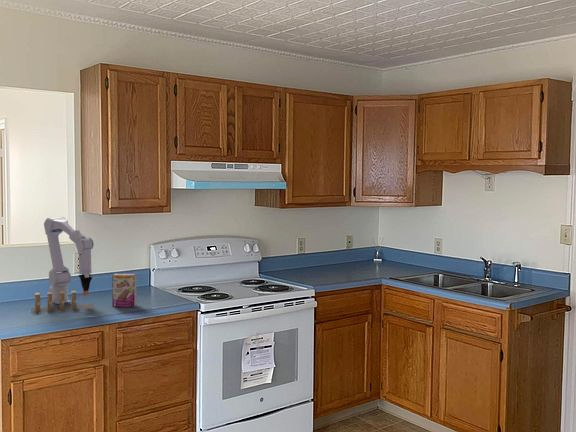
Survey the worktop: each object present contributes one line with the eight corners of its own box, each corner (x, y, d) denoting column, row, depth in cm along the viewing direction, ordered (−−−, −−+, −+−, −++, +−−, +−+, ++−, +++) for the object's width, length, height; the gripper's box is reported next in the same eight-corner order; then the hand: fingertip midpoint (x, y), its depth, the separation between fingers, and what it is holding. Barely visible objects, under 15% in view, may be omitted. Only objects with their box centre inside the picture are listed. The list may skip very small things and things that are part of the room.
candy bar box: (112, 307, 292) (111, 275, 291) (114, 305, 297) (114, 273, 296) (134, 307, 293) (134, 275, 292) (136, 305, 298) (136, 273, 297)
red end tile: (84, 295, 288) (83, 279, 288) (82, 293, 293) (82, 277, 292) (88, 295, 289) (88, 279, 288) (87, 293, 293) (86, 277, 293)
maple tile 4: (71, 308, 287) (71, 292, 286) (71, 306, 291) (71, 290, 291) (76, 308, 287) (75, 292, 287) (76, 306, 292) (75, 290, 291)
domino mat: (30, 314, 277) (30, 313, 277) (31, 308, 288) (31, 307, 288) (94, 309, 287) (94, 308, 287) (93, 304, 298) (93, 303, 298)
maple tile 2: (47, 310, 283) (47, 294, 282) (48, 308, 287) (47, 292, 287) (52, 310, 283) (51, 293, 283) (52, 307, 288) (52, 291, 288)
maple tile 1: (35, 311, 281) (34, 294, 280) (35, 308, 285) (35, 292, 285) (39, 310, 282) (39, 294, 281) (40, 308, 286) (40, 292, 286)
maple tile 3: (59, 309, 285) (59, 293, 284) (60, 307, 289) (59, 291, 289) (64, 309, 285) (63, 293, 285) (64, 307, 290) (64, 291, 289)
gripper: (75, 260, 294) (75, 287, 295) (78, 265, 281) (78, 292, 282) (89, 260, 297) (90, 286, 298) (93, 264, 284) (93, 291, 285)
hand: (85, 289), depth 291 cm, fingers closed on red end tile, 5 cm apart
